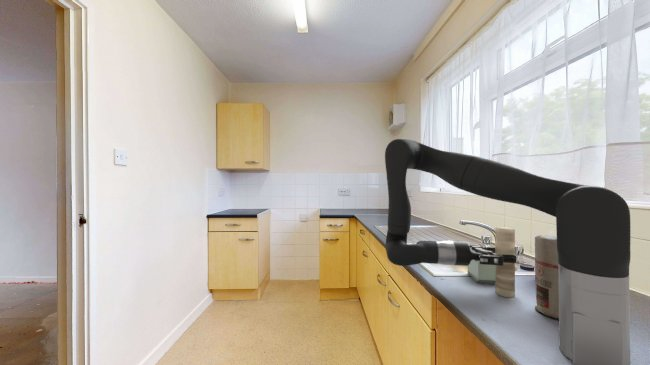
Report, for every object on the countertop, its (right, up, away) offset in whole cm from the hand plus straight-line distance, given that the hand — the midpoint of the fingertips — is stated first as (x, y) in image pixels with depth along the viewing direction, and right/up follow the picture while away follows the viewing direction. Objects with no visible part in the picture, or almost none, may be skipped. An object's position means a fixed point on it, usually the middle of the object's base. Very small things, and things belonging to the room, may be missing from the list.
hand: (507, 254), depth 75 cm
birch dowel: (-1, -12, 0) cm, 12 cm away
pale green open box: (+2, -12, +12) cm, 17 cm away
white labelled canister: (+4, -12, -12) cm, 17 cm away
